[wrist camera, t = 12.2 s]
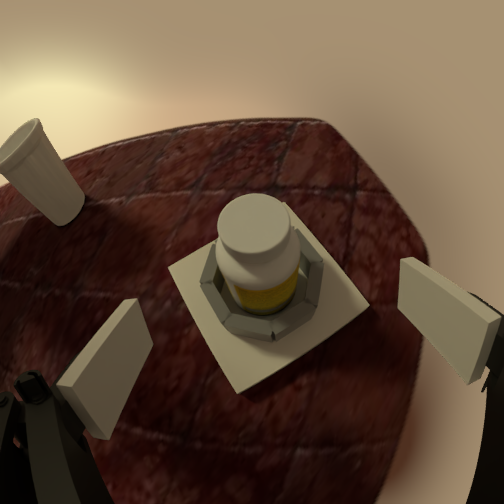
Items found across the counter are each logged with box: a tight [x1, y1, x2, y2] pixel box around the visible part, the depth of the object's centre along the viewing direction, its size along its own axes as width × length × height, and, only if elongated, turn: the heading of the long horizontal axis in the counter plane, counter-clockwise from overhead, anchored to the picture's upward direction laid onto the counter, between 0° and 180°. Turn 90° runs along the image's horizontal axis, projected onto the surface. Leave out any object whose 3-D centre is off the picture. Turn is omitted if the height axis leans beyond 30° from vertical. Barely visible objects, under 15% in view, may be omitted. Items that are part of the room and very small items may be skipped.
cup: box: [0, 118, 85, 226], centre depth 27 cm, size 8×8×14 cm
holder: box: [168, 202, 370, 394], centre depth 23 cm, size 13×13×4 cm
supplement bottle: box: [215, 194, 300, 317], centre depth 19 cm, size 5×5×10 cm
